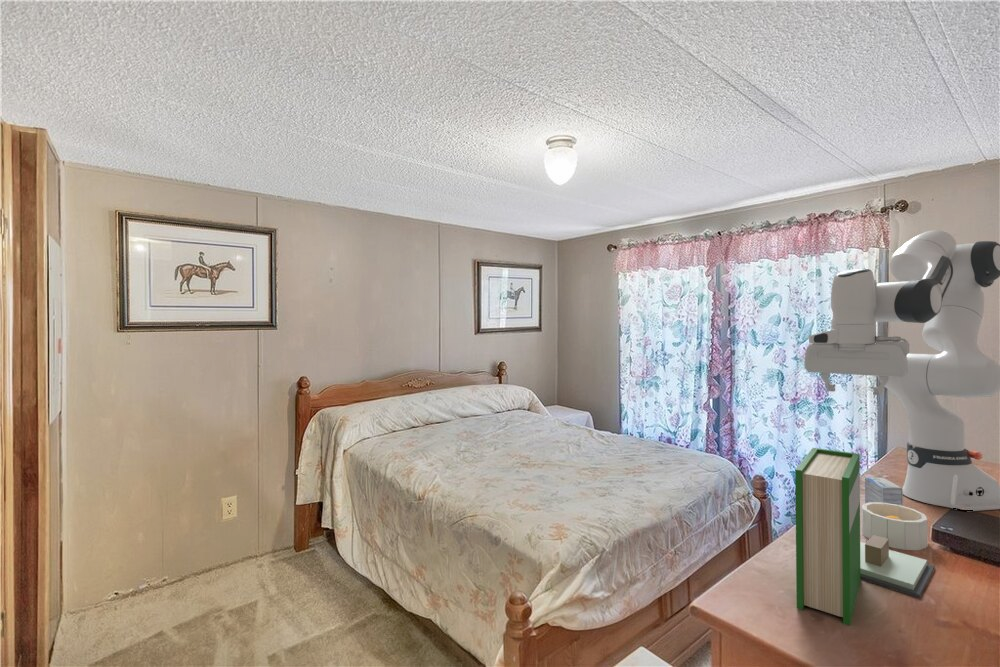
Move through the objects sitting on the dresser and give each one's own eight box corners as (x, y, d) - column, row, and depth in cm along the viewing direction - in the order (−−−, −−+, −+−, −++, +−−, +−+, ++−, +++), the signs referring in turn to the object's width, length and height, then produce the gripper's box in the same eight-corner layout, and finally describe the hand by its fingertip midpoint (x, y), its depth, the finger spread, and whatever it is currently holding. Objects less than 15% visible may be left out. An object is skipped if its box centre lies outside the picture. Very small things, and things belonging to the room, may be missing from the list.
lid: (847, 542, 103) (847, 522, 103) (927, 565, 93) (926, 542, 93) (828, 563, 95) (827, 540, 95) (913, 590, 85) (913, 565, 85)
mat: (843, 542, 104) (843, 539, 104) (934, 568, 93) (934, 565, 93) (820, 565, 95) (820, 562, 95) (919, 598, 83) (919, 594, 83)
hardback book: (850, 625, 76) (849, 478, 76) (796, 608, 81) (795, 469, 81) (860, 579, 89) (859, 453, 89) (813, 567, 94) (812, 447, 94)
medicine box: (904, 524, 113) (903, 488, 113) (882, 523, 114) (882, 487, 113) (884, 511, 121) (884, 477, 120) (864, 510, 121) (864, 476, 121)
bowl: (901, 528, 111) (901, 502, 111) (940, 550, 100) (940, 522, 100) (851, 527, 112) (851, 502, 112) (884, 549, 101) (884, 521, 101)
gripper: (912, 336, 109) (912, 395, 109) (810, 335, 125) (810, 387, 125) (906, 337, 105) (906, 399, 105) (801, 336, 121) (802, 390, 121)
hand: (853, 393), depth 115 cm, fingers open, 8 cm apart
